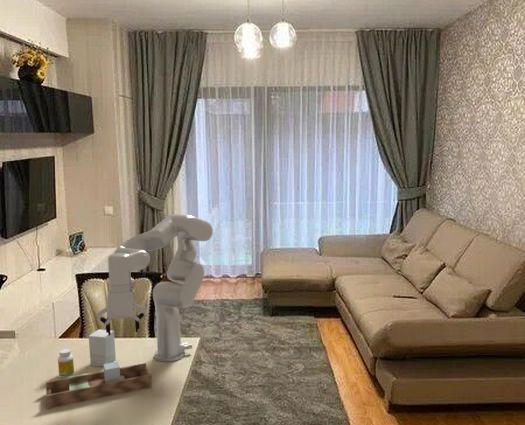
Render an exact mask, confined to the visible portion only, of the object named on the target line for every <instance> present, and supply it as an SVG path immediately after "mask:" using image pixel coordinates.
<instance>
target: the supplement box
mask: <svg viewBox="0 0 525 425" xmlns="http://www.w3.org/2000/svg"><path fill="white" fill-rule="evenodd" d="M88 344H89V346H88V347H89V358H90V366H92V367H93V366H94V367H100V368H101V367H102V368H104V364H107V363H113V362H116V358H117V357H116V342H115V331H114V330H111V329H110V335H109V336H108V333H106V329H97V330H95V331H93V333H90V335H88Z"/></svg>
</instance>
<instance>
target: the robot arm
mask: <svg viewBox="0 0 525 425" xmlns="http://www.w3.org/2000/svg"><path fill="white" fill-rule="evenodd" d="M213 230H214V229H213V227H212V225H211V224H210V222H209V221H207V220H203V219H201V218H198V217H196V216H193V215H190V214H181V213H172V214H168V215H167V216H166V217H165V218H164V219H162V220H161V221H160V222H159V223H158V224H157V225H155V226H154V227H153V228H151V229H150V230H148V231H145V232H143V233H140V234H138V235H135V236H133V237H131V238H129V239H126V240H125V241H124V242H123V243H121V245H119V246H118V247H117V248H116V249H115V251H114V253H112V254H110V255H109V256H108V258H107V262H108V264H107V265H108V282H109V290H108V291H107V295H106V296H107V297H106V298H107V299H106V307H104V308H103V309H101V310H99V311H98V312H96V316H97V318H99V320H100V322H101V323H103V324H104V325H105V330H106V333H108V336H109V335H110V330H111V321H113V320H122V319H129V318H133V319H134V326H135V328H134V329H135V333H138V332H139V329H141V328H140V321H141V319H143V317H144V316H145V314H146V312H147V307H146V306H142V305H140V304H137V302H136V301H137V300H136V294H135V290H134V287H136V282H132V275H131V272H136V271H142V270H144V269H146V268H147V267H149V265H150V262H151V256H150V253H149V252H150V251H155V250H159V249H162V248H165V247H166V246H167V245H168V244H169V243H170V242H172V241H173V240H174V239H175V238H176V239H177V250H176V251H175V254H174V256H173V258H172V260H171V263H170V264H169V266H168V269H167V271H166V277H167V279H168V280H169V281H161V282H158V283H156V285H155V286H154V288H153V290H152V299H153V302H154V306H155V315H156V316H155V318H156V341H157V342H156V344H157V346H156V347H157V350H155V351H154V354H153V359H155V360H156V361H159V362H161V363H162V362H163V363H164V362H165V363H167V362H175V361H178V360H181V359H182V358H183V357H184V356H185V350H190V349H193V345H192V343H190V344H188V342H184V343H182V342H181V318H180V317H181V316H180V311H179V309H188V308H189V307H190V306H191V305H192V304H193V302H194V300H195V299H196V296H197V294H198V292H199V290H200V288H201V285H202V283H203V281H204V277H205V269H204V266H203V264H201V262H197V261H195V260H196V257H197V249H196V246H195V244H194V241H197V242H207V241H209V240H210V239H211V238H212V236H213V232H214V231H213ZM171 281H172V282H171ZM178 308H179V309H178ZM137 310H140V311H141V312H140V313H139V314H137ZM106 313H107V317H104V316H103V314H106Z"/></svg>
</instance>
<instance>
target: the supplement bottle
mask: <svg viewBox="0 0 525 425" xmlns="http://www.w3.org/2000/svg"><path fill="white" fill-rule="evenodd" d="M58 352H59V356H58V358H57V364H58V376H59V377H60V378H61V379H64V378H69V377H70V376H74V375H75V367H74V366H75V364H74V356H73V354H72V350H71V349H69V348H64V349H61V350H59V351H58Z"/></svg>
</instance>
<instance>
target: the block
mask: <svg viewBox="0 0 525 425" xmlns="http://www.w3.org/2000/svg"><path fill="white" fill-rule="evenodd" d="M120 368H121V367H120V364H119V362H118V361H113V362H112V363H107V364H104V367H103V371H104V379H105V383H109V382H114V381H119V380H120Z"/></svg>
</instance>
